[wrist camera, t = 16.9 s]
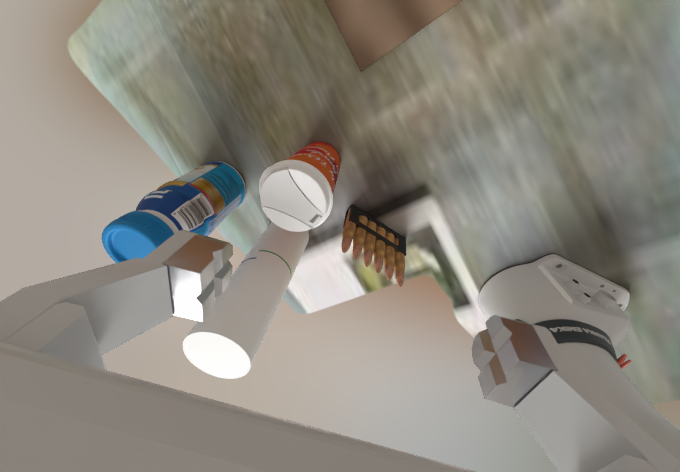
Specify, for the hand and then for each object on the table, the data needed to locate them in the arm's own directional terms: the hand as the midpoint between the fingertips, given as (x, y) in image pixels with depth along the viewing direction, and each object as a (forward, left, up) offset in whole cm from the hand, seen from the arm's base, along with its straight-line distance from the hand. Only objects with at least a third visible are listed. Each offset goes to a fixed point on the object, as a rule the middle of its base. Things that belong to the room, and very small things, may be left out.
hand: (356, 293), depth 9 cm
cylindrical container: (+10, +22, -35) cm, 43 cm away
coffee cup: (+7, +8, -35) cm, 37 cm away
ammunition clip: (-4, +16, -35) cm, 39 cm away
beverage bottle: (+22, +16, -35) cm, 45 cm away
